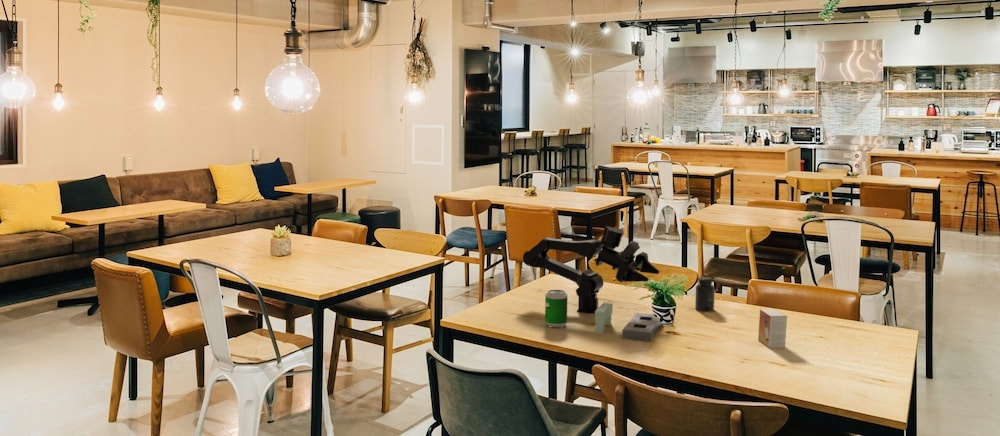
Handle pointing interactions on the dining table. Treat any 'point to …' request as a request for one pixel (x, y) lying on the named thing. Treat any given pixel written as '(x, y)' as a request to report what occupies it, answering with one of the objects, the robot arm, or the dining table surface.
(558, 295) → the soda can
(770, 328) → the small box
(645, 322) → the rail
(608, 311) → the staple
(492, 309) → the dining table surface
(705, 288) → the supplement bottle
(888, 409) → the dining table surface
